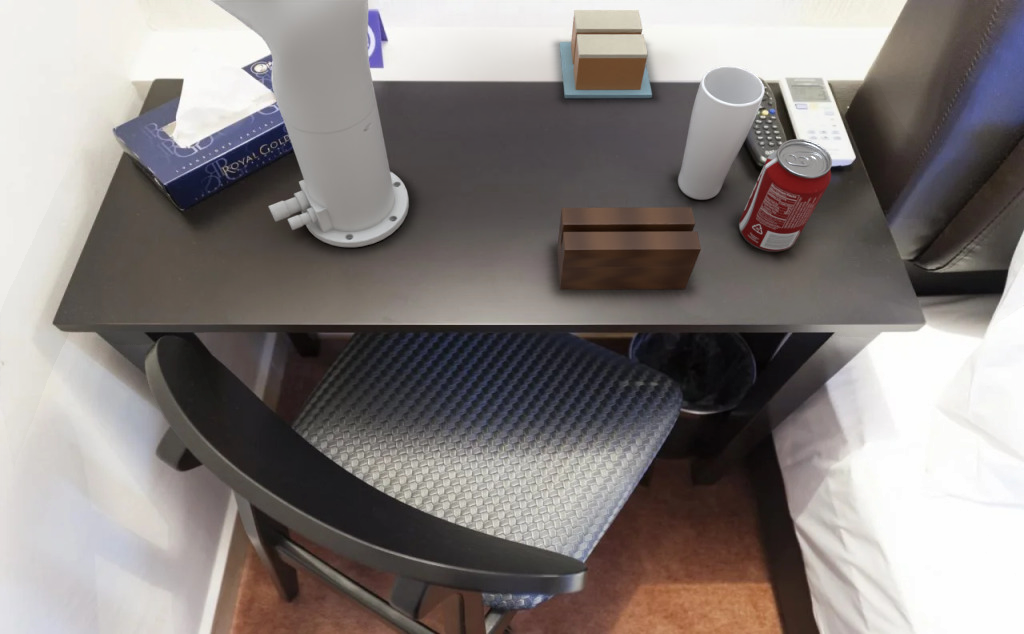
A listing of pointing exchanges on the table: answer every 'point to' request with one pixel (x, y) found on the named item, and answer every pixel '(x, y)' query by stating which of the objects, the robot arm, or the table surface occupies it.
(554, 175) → the table surface
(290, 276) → the table surface
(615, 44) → the boxes on blue tray
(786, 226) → the soda can
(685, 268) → the block
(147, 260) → the table surface
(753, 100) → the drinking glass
